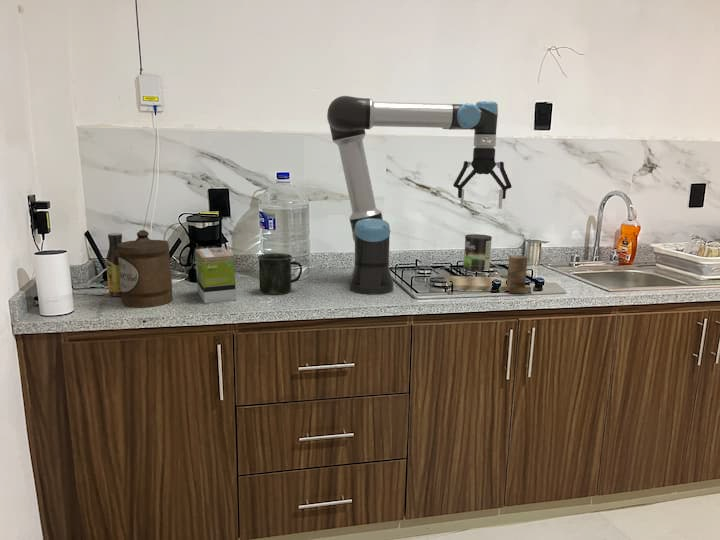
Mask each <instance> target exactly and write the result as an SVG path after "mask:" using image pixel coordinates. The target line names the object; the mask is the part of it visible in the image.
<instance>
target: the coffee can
mask: <svg viewBox="0 0 720 540" xmlns="http://www.w3.org/2000/svg"><path fill="white" fill-rule="evenodd" d="M464 238H465V239H464V240H465V242H464V257H463V269H466V270H467V271H470V272H476V271H483V270H489V271H490V265H491V264H490V263H491V251H492V250H491V249H492V239H493V237H492V236H490V235H487V234H478V233H477V234H475V233H471V234H466V235H464Z"/></svg>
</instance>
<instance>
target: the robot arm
mask: <svg viewBox="0 0 720 540" xmlns="http://www.w3.org/2000/svg"><path fill="white" fill-rule="evenodd" d="M498 108H499V107H498V102H496V101H493V100H492V101H491V100H487V101H482V100H481V101H477V102H476V103H475V104H473V103H467V102H466V103H464V104H463V103H461V104H460V103H459V104H458V103H431V102H430V103H429V102H428V103H427V102H426V103H424V102H396V101H394V102H393V101H391V102H390V101H389V102H387V101H374V100H373V99H372V98H367V97H366V98H364V97H355V96H349V95H342V96H338V97H336V98H334V99H333V100H331V102H330V104H329V106H328V109H327V115H326V116H327V123H328V125H329V129H330V134H331V139H332V143H334V144H336V146H338V151H339V154H340V159H341V165H342V169H343V170H342V171H343V174H344V178H345V179H344V180H345V183H346V184H345V185H346V188H347V193H348V198H349V202H350V206H351V215H350V216H349V223H350V227H351V232H352V239H353V242H354V267H353V270H352V273H351V277H350V280H349V283H348V286H349V290H350V291H351V292H355V293H359V294H366V295H378V294H386V293H390V292H392V291H393V290H394V281H393V278H392V274H391V270H390V236H391V229H390V226H391V225H390V224H389V222H388V221H386V220H384V219H383V214H382V211H381V210H379V209H378V208H377V206H376V201H375V196H374V190H373V186H372V181H371V177H370V176H371V175H370V171H369V166H368V160H367V157H366V151H365V147H364V142H363V140H364V139H365V136H366V130H371V129H372V128H373V127H394V128H437V129H440V128H442V129H443V130H450V131H451V130H458V131H459V130H471V131H473V130H474V133H473V134H474V135H473V137H474V138H473V146H474V148H473V152H472V161H467V160H464V161H463V165H462V168H461V170H460V172H459V174H458V176H457V177H456V179H455V181H454V183H453V185H452V186H453V187H454V188H457V198H458V199H460V208H461V209H463V208H464V202H465V200H464V199H465V198H464V197H465V189H464V187H465V186H466V185H467V184H468V183H469V181H471V179H472V178H473V177H474V176H475V175H476V174H477V175H489V174H490V175H491V176H492V178H493V179H494V180H495V182H496V183H497V184H498V185H499V187H500V188H501V189H499V194H498V209H499V210H502V208H503V200H505V199H506V196H507V195H506V193H507V190H509V189H512V187H513V186H512V184H511V181H510V179H509V177H508V174H507V172H506V170H505V165H504V164H505V163H504V161H498V162H497V161H495V160H496V159H495V158H496V148H495V147H496V145H497V143H496V141H497V126H498V116H499V113H498V112H499V111H498V110H499V109H498ZM470 166H471V167H472V170H471V171H470V173H469V174H468V175H467V176H466V177H465V178H464V179H463V176H464V175H465V173H466V171H467V169H468V168H470ZM495 167H497V168H498V169H499V171H500V173H501V176H502V179H503V180H504V182H503V181H502V180H501V179H500V177H499V176H498V174H497V173H496V172H495V170H494V169H495ZM462 179H463V181H461V180H462ZM504 183H505V184H504Z"/></svg>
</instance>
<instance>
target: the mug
mask: <svg viewBox="0 0 720 540" xmlns="http://www.w3.org/2000/svg"><path fill="white" fill-rule="evenodd" d="M292 258H293V256H292V255H291V254H289V253H281V252H280V253H279V252H276V253H264V254H259V255H257V260H258V274H259V275H258V277H259V279H258V280H259V282H258V283H259V291H260V293H261V294H265V295H271V296H272V295H286V294H288V293H290V292H291V290H292V284H293V283H296V282H298V281H299V280H300V279H301V276H302V273H303V266H302V264H301V263H300V262H297V261H291V260H292ZM292 265H295V266H298V267H299V272H298V275H297V277H295V278H294V279H292Z"/></svg>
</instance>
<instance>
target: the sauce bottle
mask: <svg viewBox="0 0 720 540" xmlns="http://www.w3.org/2000/svg"><path fill="white" fill-rule="evenodd" d="M107 239H108V243H109V244H108V246H109V247H108V251H107V254H106V258H105V261H106V263H105V265H106V277H107V288H108V289H107V290H108V293H109V294H108V295H110V296H111V297H121V288H120V274H119V257H118V256H119V255H118V249H117V245H118V244H119V243H122V242H123V234H122V233H120V232H111V233H108V234H107Z"/></svg>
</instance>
